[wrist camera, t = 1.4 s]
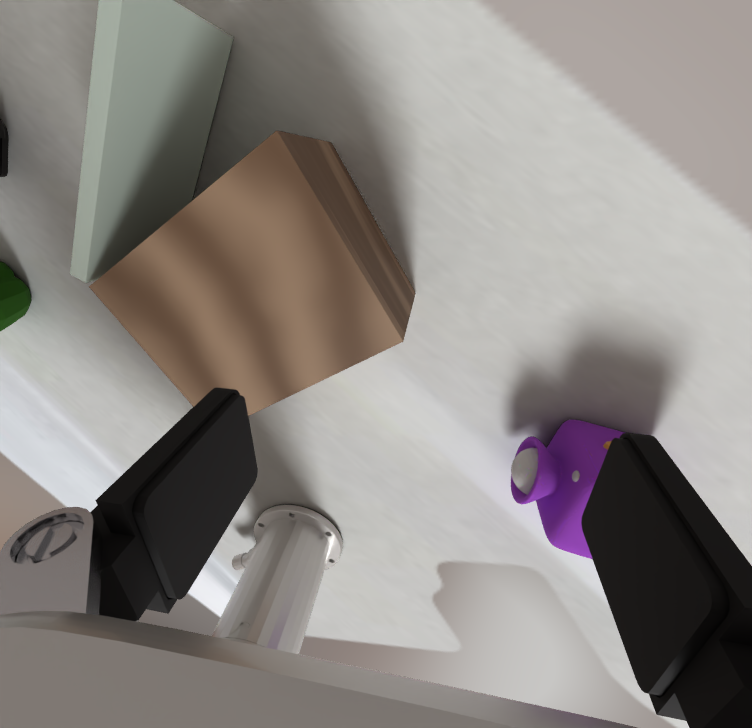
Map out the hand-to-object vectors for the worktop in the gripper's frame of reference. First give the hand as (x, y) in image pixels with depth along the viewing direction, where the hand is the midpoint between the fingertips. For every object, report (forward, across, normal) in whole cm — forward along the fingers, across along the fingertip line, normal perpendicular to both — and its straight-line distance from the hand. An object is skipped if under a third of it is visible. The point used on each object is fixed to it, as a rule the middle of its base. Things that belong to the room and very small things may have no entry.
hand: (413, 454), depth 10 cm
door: (+26, +21, -7) cm, 34 cm away
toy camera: (+26, -16, +20) cm, 36 cm away
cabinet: (+26, +13, +3) cm, 29 cm away
